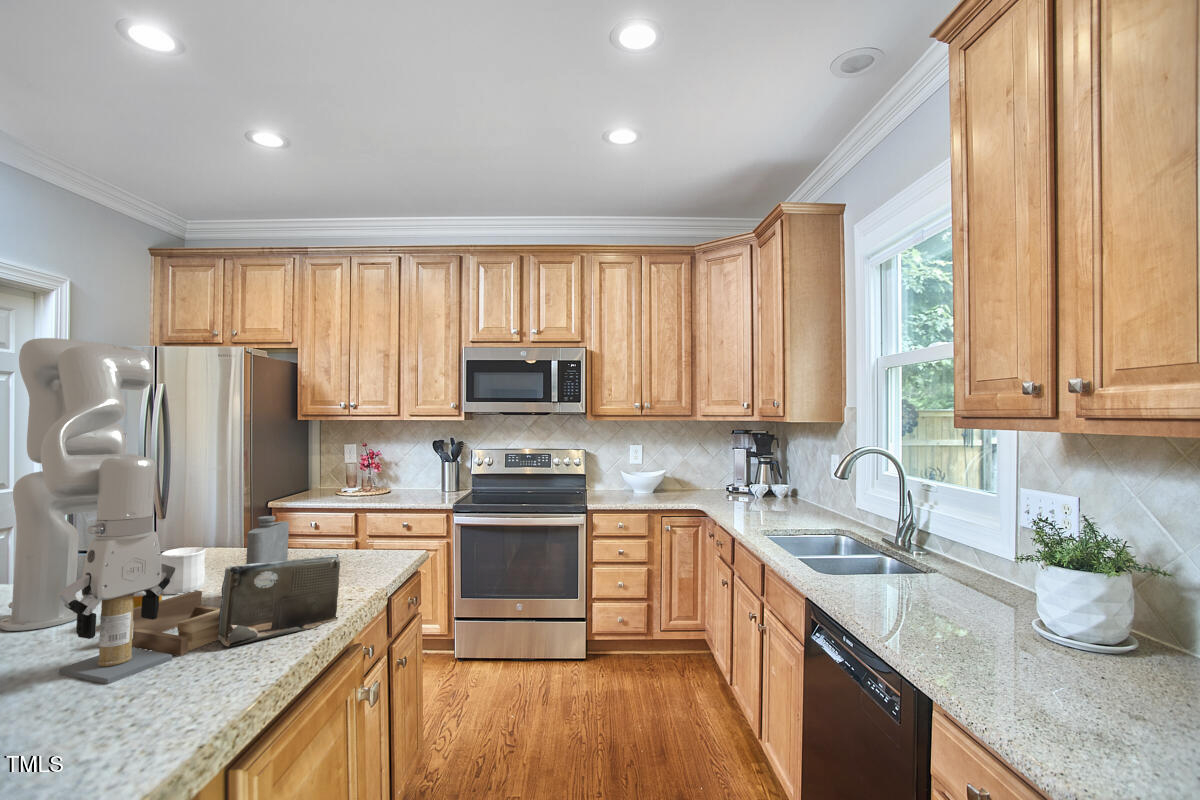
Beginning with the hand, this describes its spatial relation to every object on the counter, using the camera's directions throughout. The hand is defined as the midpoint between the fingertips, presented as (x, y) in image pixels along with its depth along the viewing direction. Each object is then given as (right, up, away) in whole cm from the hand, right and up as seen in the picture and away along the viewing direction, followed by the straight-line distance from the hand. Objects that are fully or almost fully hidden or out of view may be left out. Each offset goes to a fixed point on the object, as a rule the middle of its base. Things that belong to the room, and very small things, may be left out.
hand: (119, 627), depth 96 cm
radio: (+18, -8, +18) cm, 27 cm away
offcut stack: (+7, -7, +12) cm, 16 cm away
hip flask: (+3, -9, +36) cm, 38 cm away
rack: (+1, -7, +14) cm, 16 cm away
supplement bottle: (-12, -8, +20) cm, 25 cm away
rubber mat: (0, -7, 0) cm, 7 cm away
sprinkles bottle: (0, -6, -1) cm, 6 cm away
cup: (-23, -9, +44) cm, 51 cm away
